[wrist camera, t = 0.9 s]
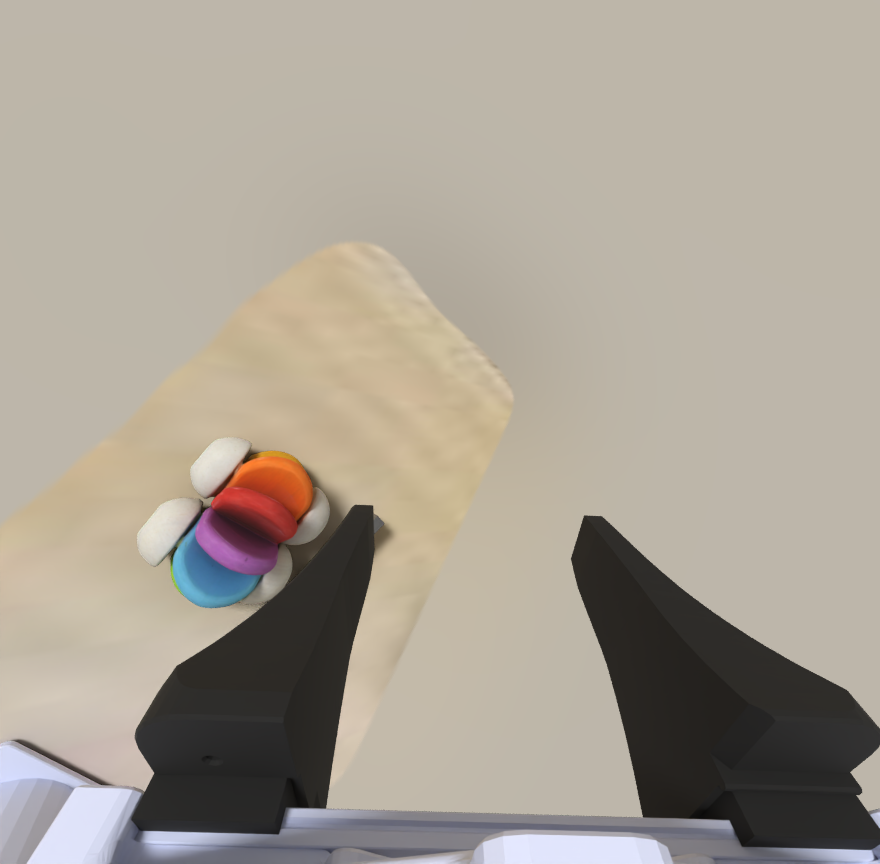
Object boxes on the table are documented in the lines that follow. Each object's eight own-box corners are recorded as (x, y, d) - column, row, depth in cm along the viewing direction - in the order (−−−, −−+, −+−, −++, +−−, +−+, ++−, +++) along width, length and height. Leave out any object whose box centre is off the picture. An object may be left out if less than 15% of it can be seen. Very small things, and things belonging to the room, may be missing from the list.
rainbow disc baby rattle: (337, 486, 29) (371, 505, 22) (251, 609, 26) (262, 670, 20) (231, 416, 25) (236, 416, 19) (120, 551, 23) (82, 602, 16)
